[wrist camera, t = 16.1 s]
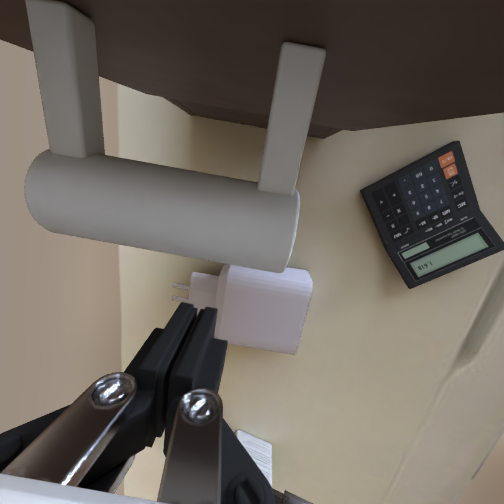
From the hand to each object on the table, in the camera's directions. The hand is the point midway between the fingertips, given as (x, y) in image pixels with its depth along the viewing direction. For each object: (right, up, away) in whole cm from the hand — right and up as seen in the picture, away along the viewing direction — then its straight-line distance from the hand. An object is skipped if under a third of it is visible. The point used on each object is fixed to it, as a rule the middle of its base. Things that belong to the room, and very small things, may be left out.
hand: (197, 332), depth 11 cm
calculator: (+21, +7, +15) cm, 27 cm away
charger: (+1, -1, +20) cm, 20 cm away
